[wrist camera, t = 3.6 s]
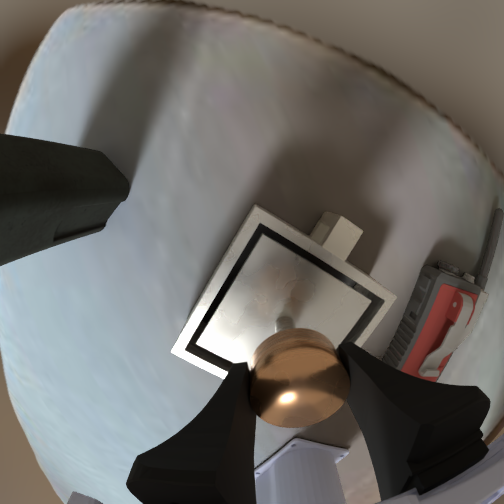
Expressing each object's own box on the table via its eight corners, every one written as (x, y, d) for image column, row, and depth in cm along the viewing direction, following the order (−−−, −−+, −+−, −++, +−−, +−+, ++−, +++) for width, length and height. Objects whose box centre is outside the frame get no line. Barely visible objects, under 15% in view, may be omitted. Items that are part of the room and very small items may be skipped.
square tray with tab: (296, 374, 21) (304, 410, 17) (186, 320, 20) (171, 351, 16) (383, 253, 19) (414, 269, 14) (270, 177, 18) (276, 172, 13)
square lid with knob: (298, 386, 17) (315, 462, 11) (197, 339, 17) (171, 415, 10) (368, 297, 16) (424, 354, 9) (262, 232, 15) (271, 265, 8)
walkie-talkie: (425, 387, 22) (496, 211, 18) (443, 411, 18) (526, 216, 14) (363, 385, 22) (442, 175, 18) (379, 416, 18) (477, 175, 13)
